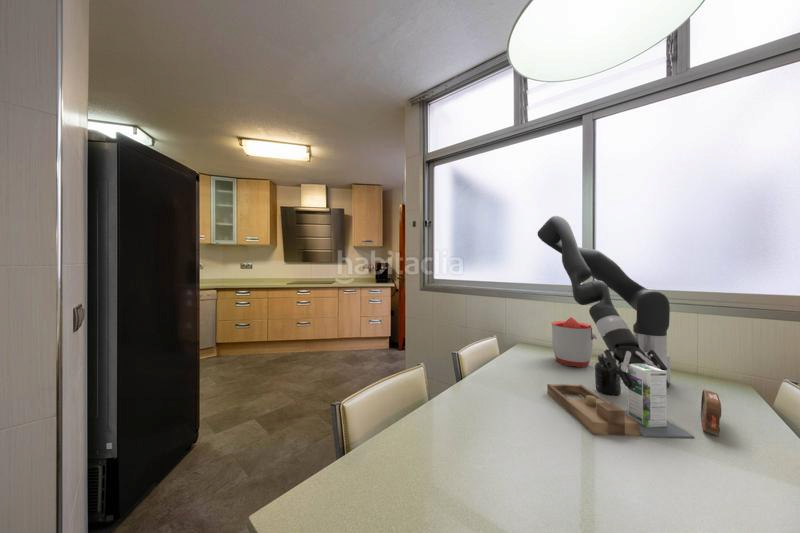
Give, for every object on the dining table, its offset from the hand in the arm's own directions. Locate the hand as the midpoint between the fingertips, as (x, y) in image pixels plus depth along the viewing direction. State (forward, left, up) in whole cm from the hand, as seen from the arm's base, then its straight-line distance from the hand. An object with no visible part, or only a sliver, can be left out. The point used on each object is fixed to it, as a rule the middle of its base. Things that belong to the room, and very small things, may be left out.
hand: (648, 388), depth 72 cm
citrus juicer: (-9, -49, -10) cm, 51 cm away
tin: (-15, 0, -10) cm, 18 cm away
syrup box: (0, -1, -9) cm, 10 cm away
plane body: (+12, -7, -10) cm, 17 cm away
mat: (0, -1, -10) cm, 10 cm away
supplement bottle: (-3, -20, -10) cm, 22 cm away
